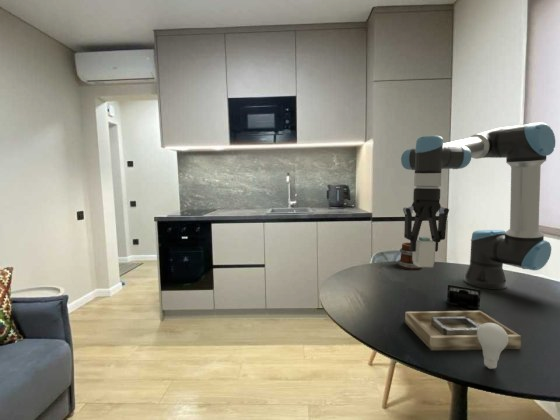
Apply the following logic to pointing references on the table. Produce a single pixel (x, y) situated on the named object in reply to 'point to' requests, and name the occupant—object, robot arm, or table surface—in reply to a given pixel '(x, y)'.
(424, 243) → the white block teal patch
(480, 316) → the birch box
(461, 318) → the grey rectangular frame
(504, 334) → the lightbulb
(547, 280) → the table surface
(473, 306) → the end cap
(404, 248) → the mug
